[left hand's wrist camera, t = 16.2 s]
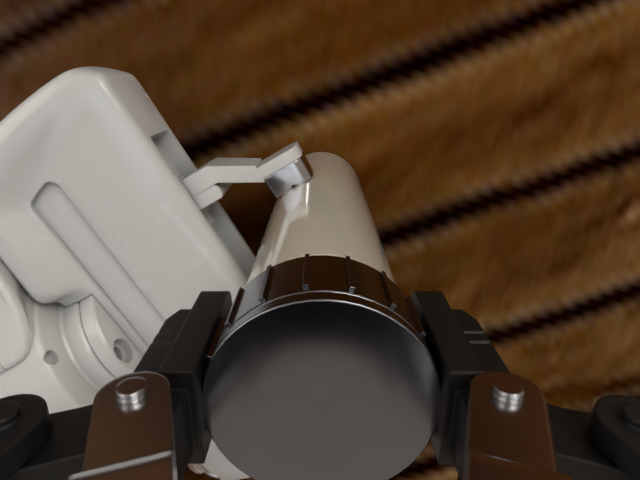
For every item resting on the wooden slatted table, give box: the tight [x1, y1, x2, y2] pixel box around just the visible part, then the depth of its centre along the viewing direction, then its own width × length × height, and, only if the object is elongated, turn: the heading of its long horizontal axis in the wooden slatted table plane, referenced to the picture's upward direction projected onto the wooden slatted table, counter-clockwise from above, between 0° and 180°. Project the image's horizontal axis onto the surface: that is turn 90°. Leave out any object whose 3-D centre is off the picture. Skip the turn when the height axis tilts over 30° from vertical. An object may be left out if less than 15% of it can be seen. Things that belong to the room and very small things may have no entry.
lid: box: [202, 254, 441, 480], centre depth 10 cm, size 5×5×2 cm
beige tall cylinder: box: [246, 152, 396, 285], centre depth 18 cm, size 4×4×17 cm
